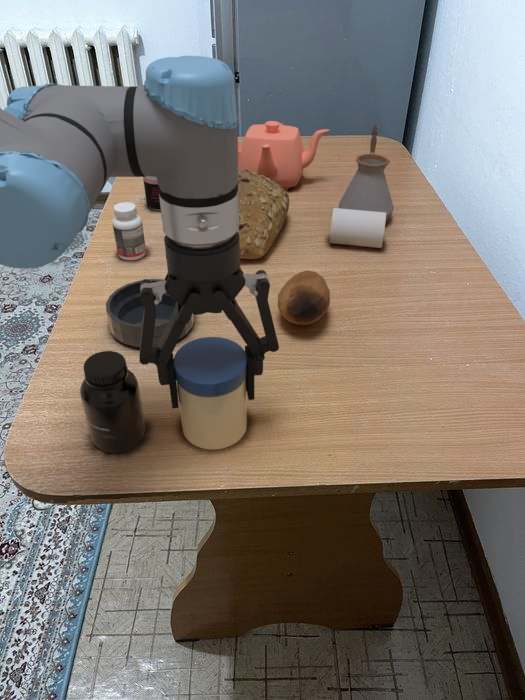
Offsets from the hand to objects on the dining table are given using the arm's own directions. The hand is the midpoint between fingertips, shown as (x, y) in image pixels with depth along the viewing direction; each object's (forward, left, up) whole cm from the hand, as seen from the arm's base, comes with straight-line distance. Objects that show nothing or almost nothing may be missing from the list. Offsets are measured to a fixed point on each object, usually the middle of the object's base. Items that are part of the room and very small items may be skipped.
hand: (212, 396), depth 70 cm
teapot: (+3, +80, -5) cm, 80 cm away
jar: (0, 0, -5) cm, 5 cm away
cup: (+21, +51, -5) cm, 55 cm away
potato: (+11, +25, -5) cm, 28 cm away
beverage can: (-21, +65, -5) cm, 69 cm away
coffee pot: (+24, +67, -5) cm, 71 cm away
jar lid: (0, 0, +6) cm, 6 cm away
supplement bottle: (-12, -3, -5) cm, 13 cm away
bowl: (-13, +21, -5) cm, 25 cm away
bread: (-4, +53, -5) cm, 53 cm away
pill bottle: (-22, +43, -5) cm, 49 cm away
